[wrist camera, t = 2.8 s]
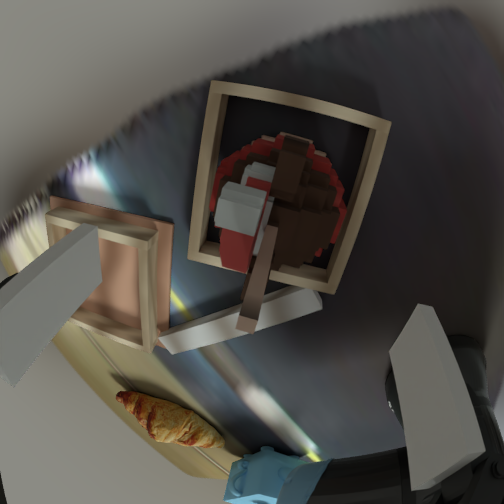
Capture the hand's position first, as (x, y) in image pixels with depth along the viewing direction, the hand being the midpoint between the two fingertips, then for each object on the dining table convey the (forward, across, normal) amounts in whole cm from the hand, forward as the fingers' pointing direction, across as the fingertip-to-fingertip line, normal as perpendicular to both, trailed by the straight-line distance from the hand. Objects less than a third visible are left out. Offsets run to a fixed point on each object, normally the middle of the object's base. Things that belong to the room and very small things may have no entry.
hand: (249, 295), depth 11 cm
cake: (+17, 0, 0) cm, 17 cm away
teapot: (+16, -12, +50) cm, 54 cm away
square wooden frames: (+17, +9, +8) cm, 20 cm away
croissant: (+17, +9, +43) cm, 47 cm away
